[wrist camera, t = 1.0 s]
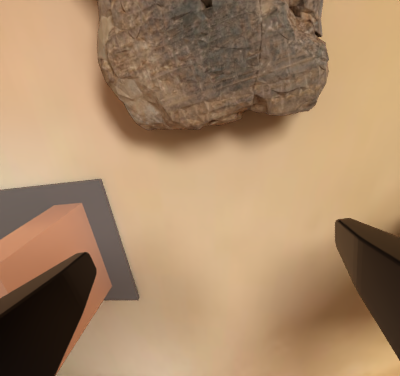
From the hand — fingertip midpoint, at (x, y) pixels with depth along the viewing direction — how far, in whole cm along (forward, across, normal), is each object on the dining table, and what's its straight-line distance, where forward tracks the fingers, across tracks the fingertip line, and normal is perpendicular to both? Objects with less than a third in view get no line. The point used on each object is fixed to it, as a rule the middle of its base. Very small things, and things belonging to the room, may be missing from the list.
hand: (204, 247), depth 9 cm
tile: (+12, +15, +7) cm, 20 cm away
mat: (+13, +19, +7) cm, 24 cm away
